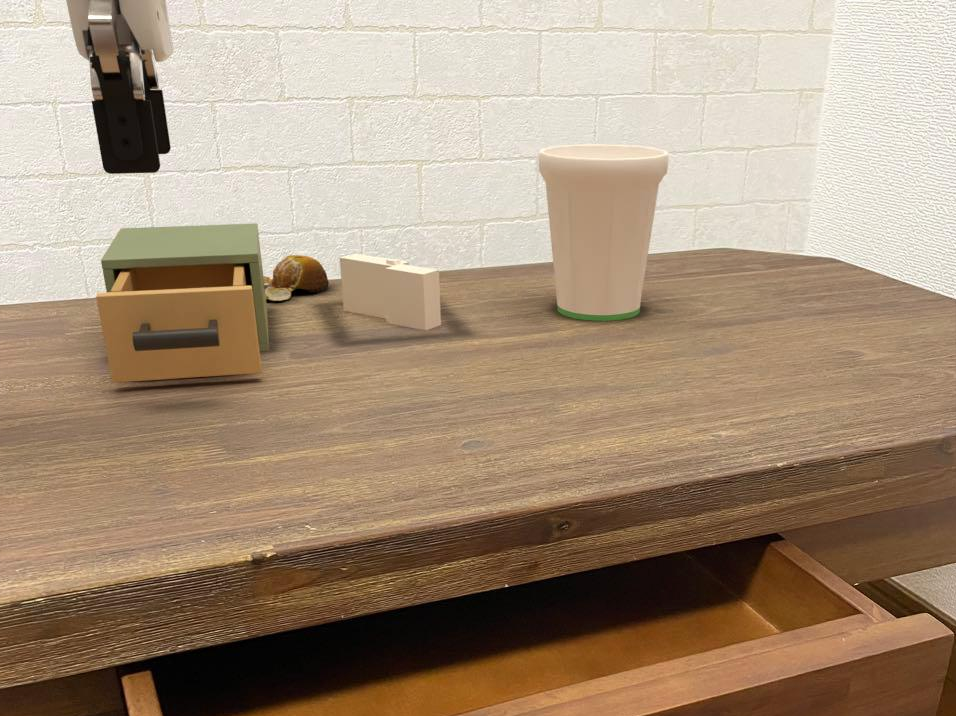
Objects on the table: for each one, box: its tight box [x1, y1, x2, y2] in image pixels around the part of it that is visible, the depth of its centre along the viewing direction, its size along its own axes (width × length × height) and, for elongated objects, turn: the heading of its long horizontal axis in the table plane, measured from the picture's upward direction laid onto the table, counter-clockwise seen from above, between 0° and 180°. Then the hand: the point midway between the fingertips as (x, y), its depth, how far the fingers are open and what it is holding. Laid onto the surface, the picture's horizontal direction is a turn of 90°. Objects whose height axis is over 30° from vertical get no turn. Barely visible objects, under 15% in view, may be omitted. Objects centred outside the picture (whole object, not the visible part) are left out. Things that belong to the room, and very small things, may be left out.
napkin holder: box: [339, 253, 442, 331], centre depth 101 cm, size 15×11×6 cm
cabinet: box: [100, 223, 270, 352], centre depth 95 cm, size 15×13×9 cm
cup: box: [538, 143, 670, 322], centre depth 102 cm, size 12×12×15 cm
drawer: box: [95, 263, 263, 384], centre depth 85 cm, size 18×11×7 cm, turn 14°
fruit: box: [263, 254, 330, 302], centre depth 111 cm, size 8×8×4 cm
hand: (140, 162), depth 67 cm, fingers open, 9 cm apart
